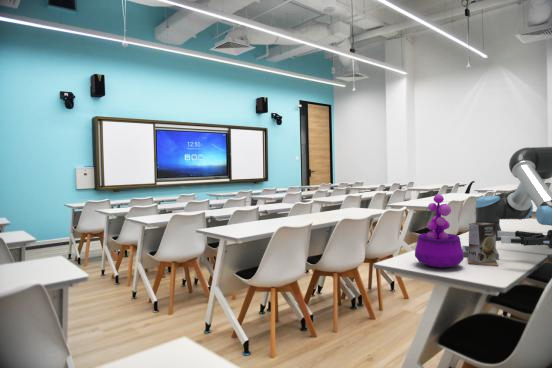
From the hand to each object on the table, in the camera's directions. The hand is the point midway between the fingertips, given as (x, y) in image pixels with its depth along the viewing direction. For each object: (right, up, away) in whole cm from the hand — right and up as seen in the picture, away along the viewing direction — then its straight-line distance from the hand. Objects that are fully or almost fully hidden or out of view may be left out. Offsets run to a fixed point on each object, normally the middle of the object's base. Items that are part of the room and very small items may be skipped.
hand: (499, 236), depth 167 cm
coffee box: (-5, -11, +3) cm, 13 cm away
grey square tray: (0, -11, +16) cm, 19 cm away
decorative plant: (-26, -12, -1) cm, 29 cm away
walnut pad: (-5, -11, +3) cm, 13 cm away
